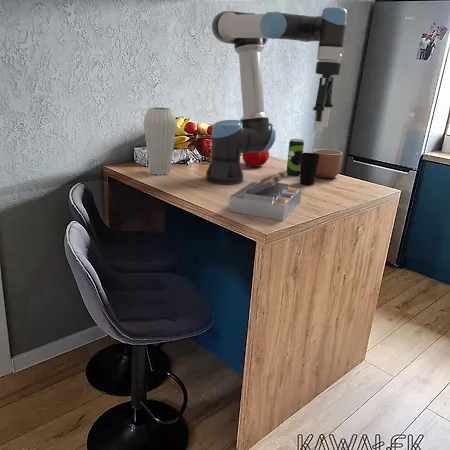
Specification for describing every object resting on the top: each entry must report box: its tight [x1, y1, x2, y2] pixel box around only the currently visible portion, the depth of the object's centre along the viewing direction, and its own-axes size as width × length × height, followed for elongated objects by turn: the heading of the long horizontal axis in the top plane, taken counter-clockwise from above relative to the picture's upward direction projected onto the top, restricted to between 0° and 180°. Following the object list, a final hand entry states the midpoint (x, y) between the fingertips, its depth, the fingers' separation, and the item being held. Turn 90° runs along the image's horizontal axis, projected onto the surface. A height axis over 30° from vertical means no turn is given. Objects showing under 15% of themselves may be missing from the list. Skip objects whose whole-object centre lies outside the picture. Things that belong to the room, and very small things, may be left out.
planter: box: [312, 148, 343, 179], centre depth 198 cm, size 12×12×11 cm
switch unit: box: [228, 181, 302, 222], centre depth 153 cm, size 18×22×6 cm
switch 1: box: [246, 179, 276, 194], centre depth 145 cm, size 9×4×2 cm, turn 67°
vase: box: [143, 106, 177, 174], centre depth 186 cm, size 13×13×26 cm
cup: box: [299, 152, 320, 187], centre depth 184 cm, size 8×8×12 cm
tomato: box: [241, 150, 270, 167], centre depth 211 cm, size 13×12×11 cm
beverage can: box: [286, 138, 305, 177], centre depth 198 cm, size 6×6×15 cm
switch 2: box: [253, 174, 283, 187], centre depth 151 cm, size 9×4×2 cm, turn 67°
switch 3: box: [259, 169, 288, 182], centre depth 157 cm, size 9×4×2 cm, turn 67°
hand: (320, 129), depth 152 cm, fingers open, 13 cm apart
